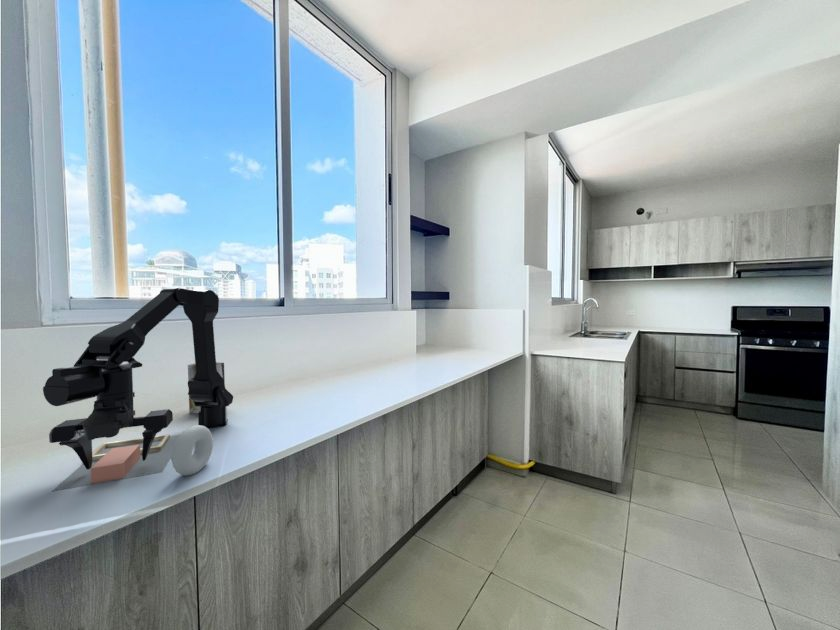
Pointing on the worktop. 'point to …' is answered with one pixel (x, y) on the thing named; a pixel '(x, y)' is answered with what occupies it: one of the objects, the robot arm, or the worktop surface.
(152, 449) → the slot frame
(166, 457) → the mat
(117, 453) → the card deck
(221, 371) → the coffee box
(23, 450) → the worktop surface
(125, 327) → the robot arm
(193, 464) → the donut
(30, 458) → the worktop surface
